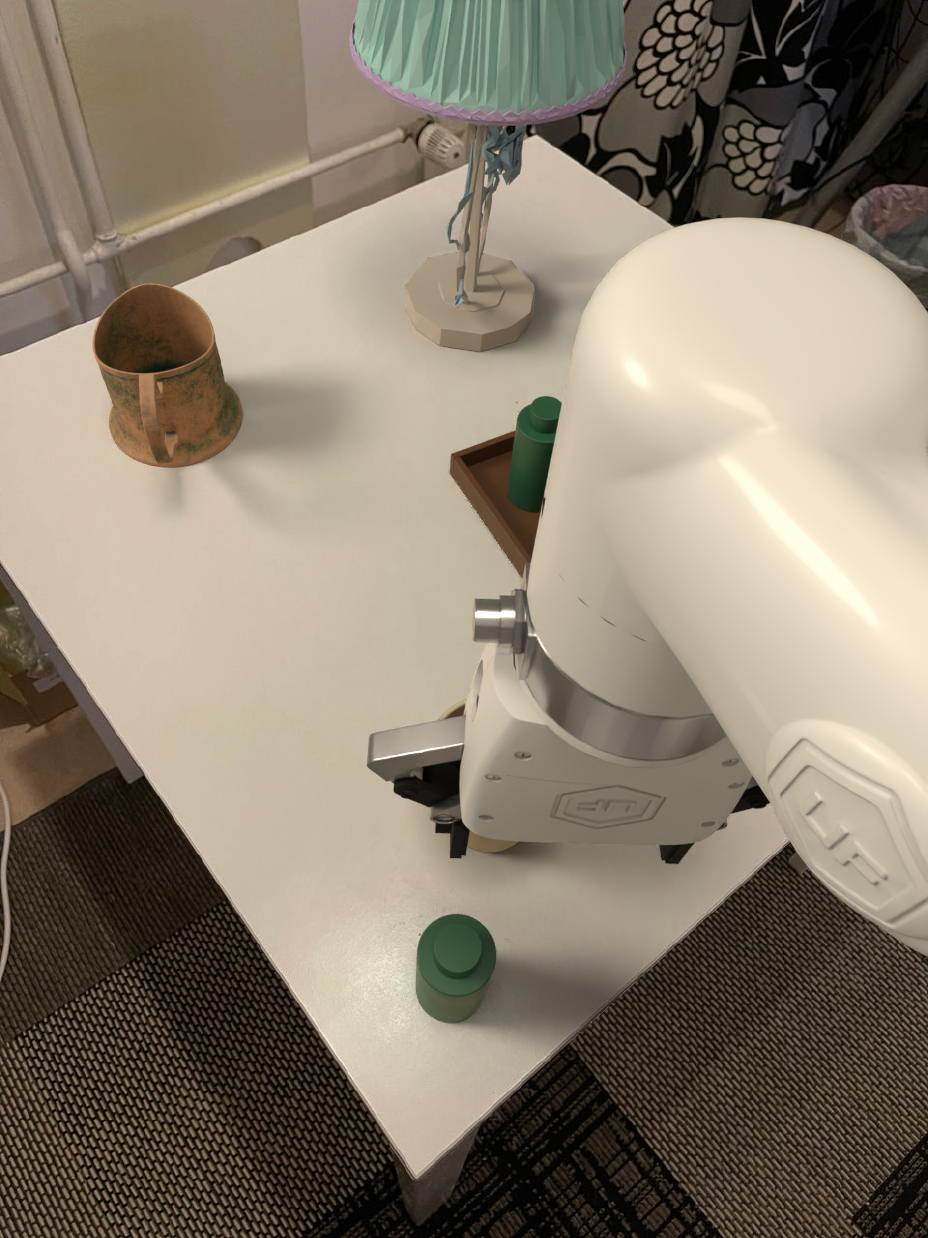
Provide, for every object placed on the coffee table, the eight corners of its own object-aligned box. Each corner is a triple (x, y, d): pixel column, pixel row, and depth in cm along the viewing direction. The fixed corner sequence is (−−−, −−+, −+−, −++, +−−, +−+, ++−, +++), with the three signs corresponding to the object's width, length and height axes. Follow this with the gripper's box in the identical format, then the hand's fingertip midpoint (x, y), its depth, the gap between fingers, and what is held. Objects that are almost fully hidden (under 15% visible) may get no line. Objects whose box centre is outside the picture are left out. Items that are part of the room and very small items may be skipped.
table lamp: (556, 403, 86) (653, -114, 52) (333, 357, 88) (289, -173, 54) (592, 263, 97) (691, -235, 64) (394, 225, 99) (390, -280, 66)
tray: (714, 648, 72) (723, 632, 70) (606, 700, 69) (612, 685, 67) (548, 435, 84) (551, 416, 82) (449, 472, 81) (450, 453, 79)
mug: (109, 529, 75) (63, 424, 65) (110, 379, 84) (70, 267, 74) (252, 512, 77) (229, 408, 67) (238, 367, 86) (215, 256, 76)
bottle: (498, 1001, 57) (513, 965, 49) (435, 1037, 56) (440, 1007, 48) (464, 936, 59) (474, 892, 51) (403, 970, 58) (403, 930, 50)
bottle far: (567, 501, 79) (586, 417, 70) (523, 519, 77) (537, 435, 69) (541, 466, 81) (556, 380, 72) (497, 483, 79) (508, 397, 71)
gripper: (347, 739, 26) (368, 907, 40) (954, 758, 26) (759, 916, 41) (365, 526, 30) (378, 749, 44) (890, 547, 30) (734, 759, 45)
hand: (561, 829), depth 42 cm, fingers open, 9 cm apart
